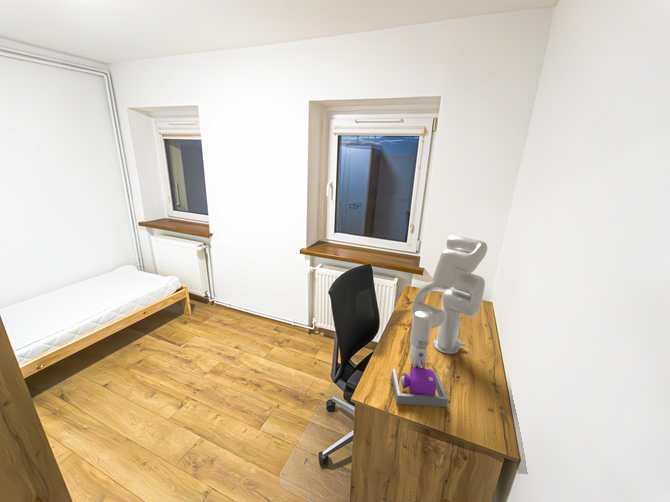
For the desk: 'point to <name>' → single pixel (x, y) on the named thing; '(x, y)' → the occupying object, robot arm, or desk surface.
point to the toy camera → (420, 381)
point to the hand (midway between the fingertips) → (414, 375)
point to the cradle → (420, 399)
